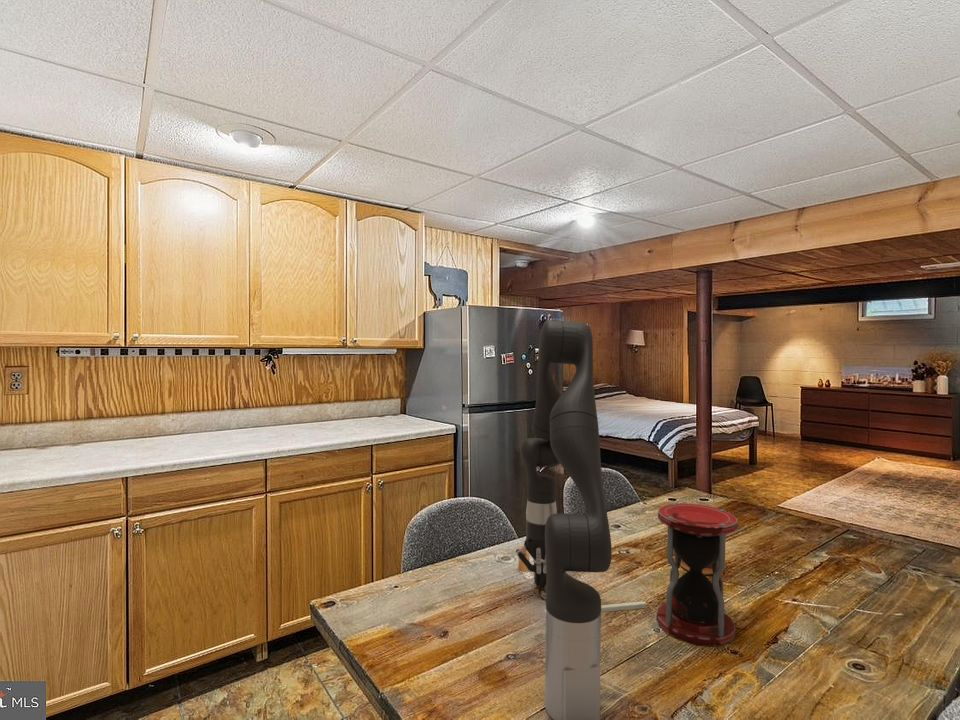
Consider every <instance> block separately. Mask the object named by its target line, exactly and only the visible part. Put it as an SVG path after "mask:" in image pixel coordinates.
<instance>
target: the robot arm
mask: <svg viewBox="0 0 960 720" xmlns="http://www.w3.org/2000/svg"><path fill="white" fill-rule="evenodd" d="M540 329H541V330H540V333H539V339H538V340H539V341H538V352H537V371H536V372H537V374H536V399H535V406H534V407H535V408H534V413H533V421H532V425H531V427H532V433H533V434H534V435H535V436H536V437H529V438H526V439H524V441H523V442H522V443H521V446H520V457H521V459H522V463H523V466H524V471H525V475H526V483H527V490H526V491H527V492H526V493H527V496H526V499H527V502H526V510H525V511H526V512H525V524H526V525H525V540H524V541H523V542H524V543H523V546H521V547H522V548H521V549H515V553H516V555H517V557H519V558H520V559H521V560H522V562H523V563H524V564H525V565H526V567H527V568H528V569H529V573H530V572H531V573H533V572H534V574H533V575H534V577H533V580H534V581H533V583H534V582H535V584H536V586H537V587H538V588H544V587H545V585H546V599H545V610H546V613H545V646H544V647H545V650H544V651H545V652H544V653H545V661H544V665H545V667H544V669H545V670H544V671H545V672H544V673H545V675H544V688H545V689H544V707H545V711H546V713H547V714H548V715H549V718H551V719H552V720H601V644H602V643H601V641H602V640H601V639H602V638H601V637H602V636H601V635H602V632H601V631H602V612H601V605H602V597H601V595H600V593H599V591H598V590H597V589H596V588H594V586H591V585H590V584H588V583H586V582H584V581H582V580H579V579H576V578H574V577H573V576H572V575H570V574H569V573H566V571H572V573H604V572H607V571H608V570H609V569H610V566H611V562H612V556H613V555H612V550H613V549H612V540H611V537H612V536H611V530H610V525H609V517H608V511H607V505H606V504H607V503H606V498H605V497H606V496H605V491H604V485H603V484H604V483H603V477H602V463H601V446H600V431H599V430H600V429H599V418H598V413H597V404H596V403H597V402H596V395H595V385H594V344H593V343H594V341H593V339H594V338H593V332H592V329H591V327H590V325H589V324H587V323H586V322H580V321H571V320H569V321H568V320H558V319H557V320H556V319H553V320H552V319H548V320H546V321H545V322H544V323H543V324H542V326H541V328H540ZM552 364H564V365H573V366H575V373H574V375H573V377H572V380H571V381H570V382H569V384H568V386H567V387H566V388H565V389H564V391H563V393H562V392H561V390H560V388H559V387H558V384H557V382H556V381H555V378H554V376H553V371H552ZM559 465H561V467H562V468H563V469H564V470H565V472H566V474H567V475H568V476H569V478H570V479H571V480H572V482H573V483H574V485H575V486H576V488H577V489H578V492H579V493H580V494H579V495H581V499H582V500H583V503H584V507H585V510H586V514H585V513H561V512H560V513H558V512H557V510H558V509H557V482H556V479H555V477H554V476H551V475H548V474H543V473H541V472H540V473H539V472H538V469H537V468H538V467H539V468H544V467H557V466H559ZM526 551H528V552H529V556H531V558H532V561H533V564H532V563H531V562H530V560H529V561H528V559H527V558H526V556H527V553H526Z"/></svg>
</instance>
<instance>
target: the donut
mask: <svg viewBox="0 0 960 720" xmlns="http://www.w3.org/2000/svg"><path fill="white" fill-rule="evenodd" d="M680 567H682V568H683V569H684V570H685V571H686V572H688V571H689V570H690V568H689V567H688V566H687V564H686V563H685V562H684V561H683V560H682V559H681V565H680ZM702 573H703V574H704V575H705V576H706V575H713V570H712V563H711V564H710V565H708V566H707V567H705V568H704V569H702Z"/></svg>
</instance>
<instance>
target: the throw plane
mask: <svg viewBox="0 0 960 720" xmlns="http://www.w3.org/2000/svg"><path fill="white" fill-rule="evenodd" d="M522 547H523V546H519V547H518V549H521V548H522ZM526 553H527V556H526V558H527V559H528V561H529V562H530V554H529V552H528V551H526ZM517 557H518V556H517ZM517 560H518V563H517V565H518V566H517V567H518V568H517V569H518V570H519V571H521V572H523V573H524V572H528V574H529V575H528V574H526V573H525V574H526V575H528V576H530V575H531V573H530V570H529V569H528V568H527V567H526V565H525V564H524V563H523V562H522V560H521V559H520V558H519V557H518V559H517ZM519 571H518V572H519ZM521 572H520V573H521ZM570 572H572V571H566V573H567V574H571V573H570ZM572 573H573V572H572ZM532 575H534V572H532ZM532 575H531V576H530V578H529V577H528V576H526V577H527V578H528V579H527V578H526V579H525V580H534V577H533V576H532ZM531 578H532V579H531ZM646 606H647V605H646V602H644V601H633V602H631V601H630V602H624V603H623V602H621V603H613V604H611V603H609V604H601V613H607V612H609V613H610V612H616V611H618V612H619V611H627V610H628V611H629V610H640V609H646ZM543 611H544V613H545V614H546V609H544V610H543Z"/></svg>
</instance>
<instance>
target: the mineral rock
mask: <svg viewBox="0 0 960 720" xmlns="http://www.w3.org/2000/svg"><path fill="white" fill-rule="evenodd" d="M532 584H533V585H531V591H532V592H533V593H534V594H535V595H537V596H538V597H541V598H542V599H544V600H546V585H545V587H544V588H538V587H537V586H536V584H535V582H534V581H533V583H532Z"/></svg>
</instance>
